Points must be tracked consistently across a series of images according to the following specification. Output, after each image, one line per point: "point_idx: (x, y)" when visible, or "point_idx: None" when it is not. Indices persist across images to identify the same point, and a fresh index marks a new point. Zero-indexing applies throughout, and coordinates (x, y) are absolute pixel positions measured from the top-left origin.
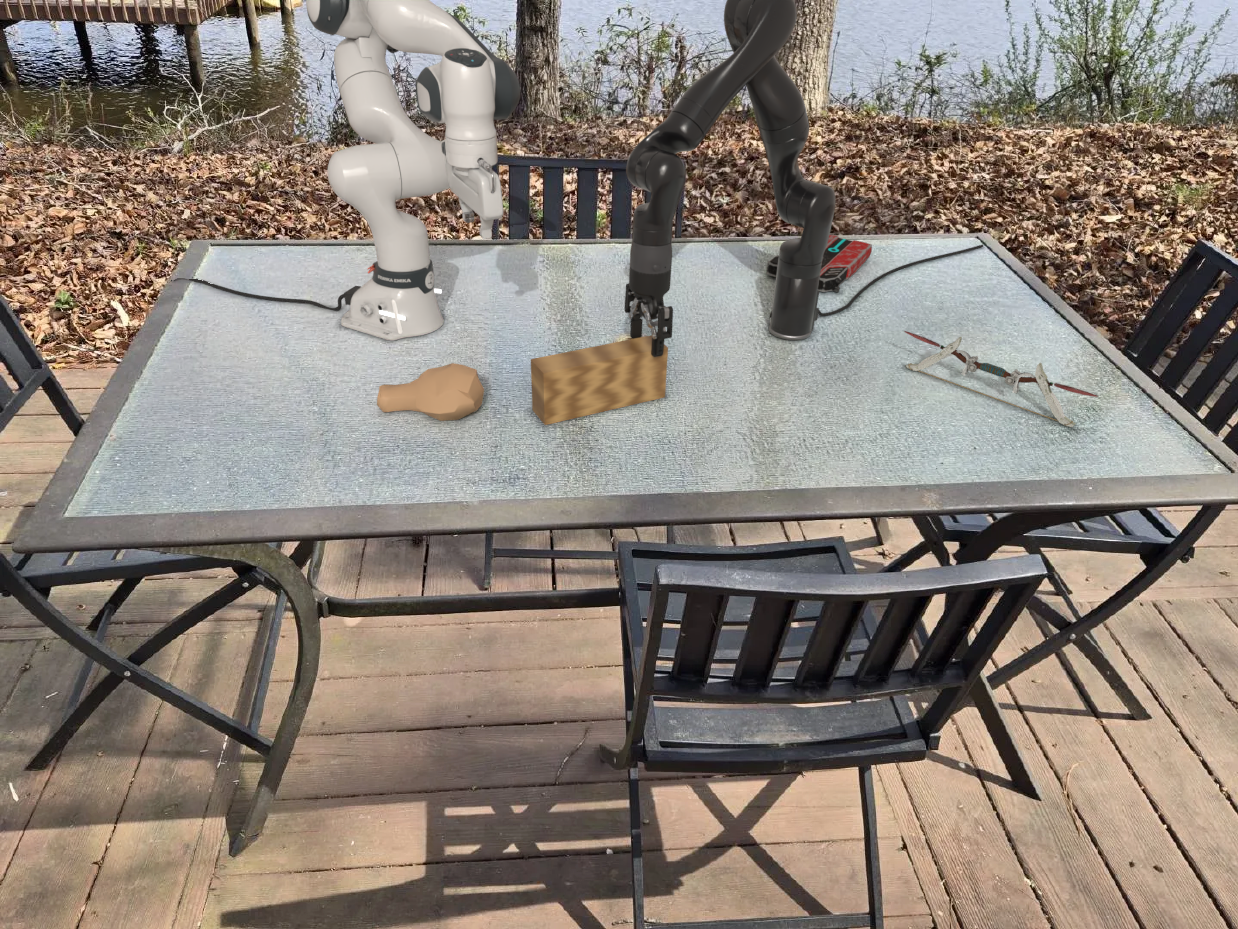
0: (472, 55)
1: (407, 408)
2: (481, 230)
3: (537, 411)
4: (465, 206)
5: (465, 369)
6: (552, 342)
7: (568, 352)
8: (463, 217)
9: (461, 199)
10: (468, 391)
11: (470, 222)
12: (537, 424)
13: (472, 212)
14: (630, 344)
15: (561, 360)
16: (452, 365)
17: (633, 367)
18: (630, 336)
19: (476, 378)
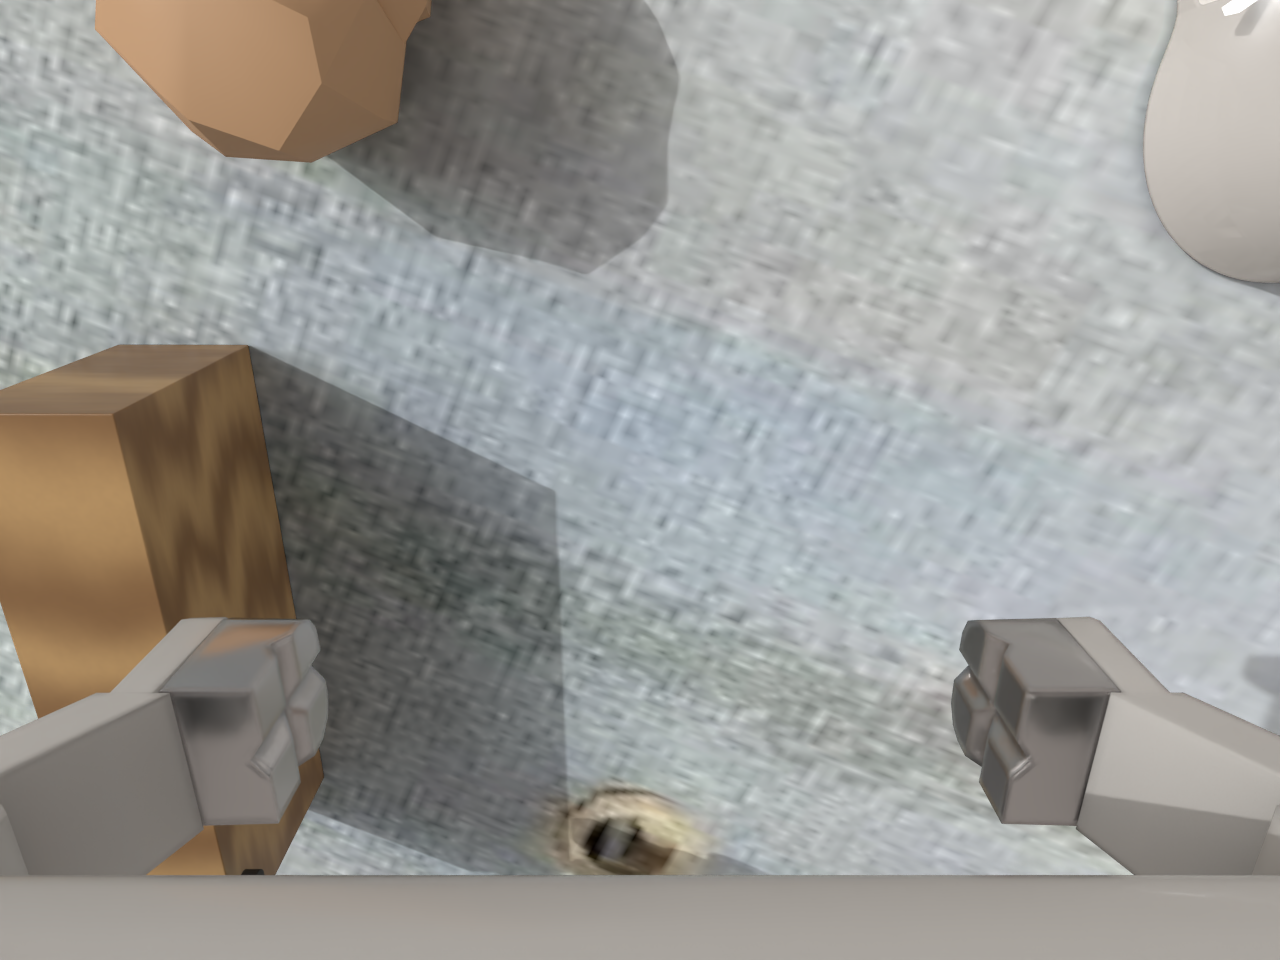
0: None
1: None
2: (143, 677)
3: (178, 349)
4: (1195, 808)
5: (249, 77)
6: (769, 621)
7: (148, 600)
8: (1078, 639)
9: (1048, 886)
10: (103, 36)
11: (962, 672)
12: (132, 321)
13: (1037, 812)
14: None
15: (69, 541)
16: (269, 4)
17: None
18: (255, 870)
19: (179, 114)
